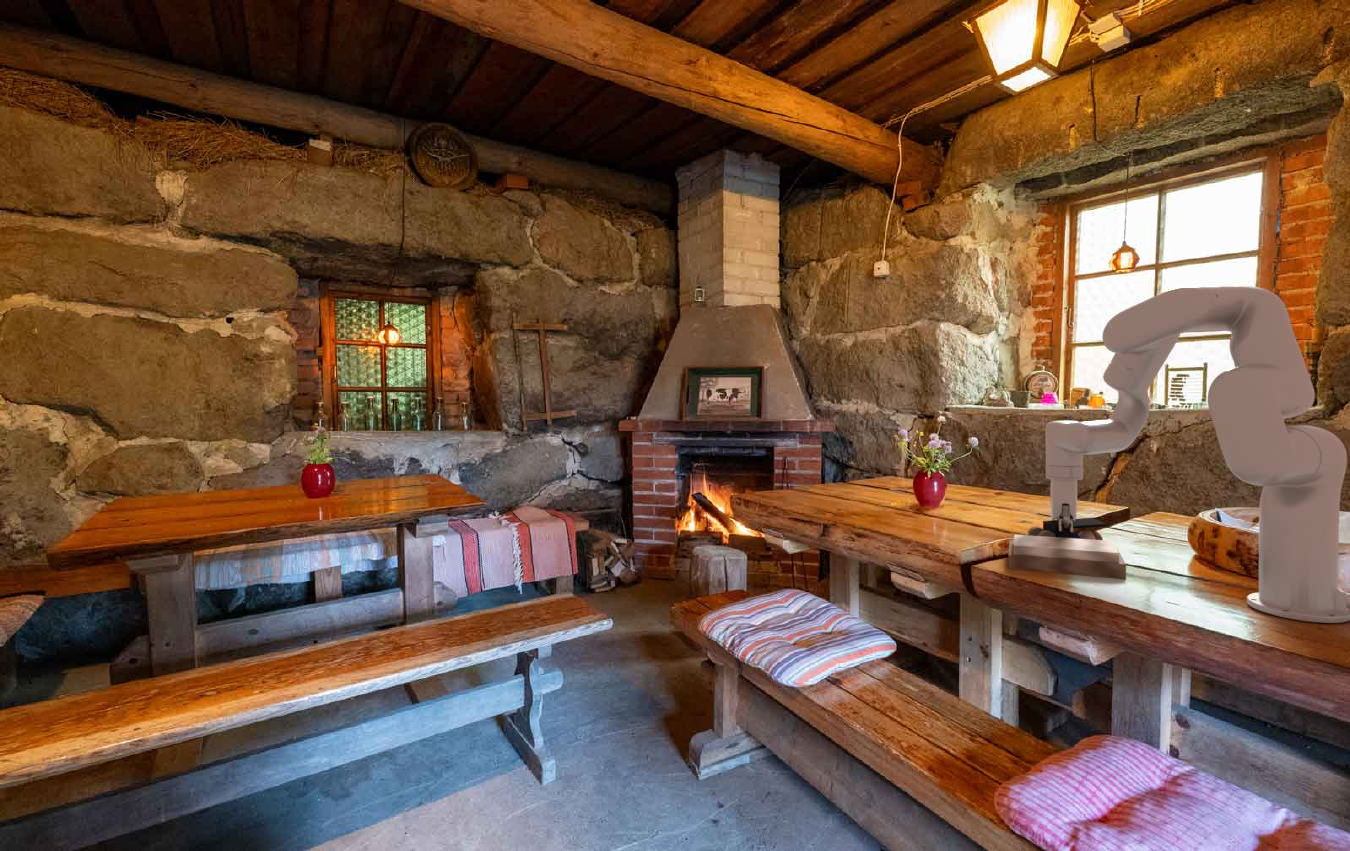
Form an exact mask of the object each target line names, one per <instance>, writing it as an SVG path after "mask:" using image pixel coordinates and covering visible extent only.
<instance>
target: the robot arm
mask: <svg viewBox="0 0 1350 851" xmlns="http://www.w3.org/2000/svg"><path fill="white" fill-rule="evenodd" d="M1209 332H1210V333H1212V332H1213V333H1214V332H1230V334H1231V335H1230V338H1229V353H1230V356H1231V360H1232V361H1233V364H1234V367H1232V368H1228V369H1226V370H1224V371H1223V372H1221V373H1220V374H1218V375H1217V376H1216V377H1215V378H1214V379H1213V380H1212V382H1211V383H1210V386H1209V389H1208V394H1207V406H1208V410H1209V414H1210V417H1211V421H1212V424H1213V427H1214V430H1215V433H1216V438H1217V440H1218V442H1219V447H1220V450H1221V452H1222V456H1223V459H1224V461H1225V463H1226V465H1227V468H1229V469H1228V470H1230V471H1231V473H1232V474H1233V475H1234V476H1235V477H1236V478H1238V479H1239V480H1240V481H1242V482H1244V483H1246V484H1249V485H1253V486H1256V487H1262V491H1261V494H1260V499H1259V507H1258V508H1259V514H1258V515H1259V516H1258V592H1252V593H1250V594H1249V595H1247V596H1246V603H1247V604H1248V606H1250V607H1251V608H1253V609H1255V610H1257V611H1259V612H1263V613H1266V614H1268V615H1269V614H1270V615H1272V616H1276V617H1281V618H1285V619H1290V620H1295V621H1302V622H1310V623H1319V624H1320V623H1322V624H1341V623H1345V622H1349V621H1350V592H1347V591H1345V590H1344V589H1342V588H1340V587H1339V540H1340V539H1339V536H1340V535H1339V531H1340V506H1341V504H1340V503H1341V502H1340V501H1341V495H1342V494H1341V493H1342V488H1343V482H1344V478H1345V474H1346V470H1347V466H1348V455H1347V450H1346V448H1345V446H1344V443H1343V442H1342V440H1341V439H1340V438H1339V437H1338V436H1336V435H1335V434H1334V433H1333V432H1331V431H1329V430H1327V429H1325V428H1322V427H1319V426H1314V425H1304V424H1303V425H1302V424H1300V425H1299V424H1298V425H1295V424H1294V425H1287V426H1286V424H1285V419H1290V418H1293V417H1298V416H1301V415H1302V414H1304V413H1306V412H1308V410H1309V409H1310V408H1312V406H1313V404H1314V402H1315V395H1316V392H1315V389H1314V385H1313V382H1312V380H1311V377H1310V375H1309V371H1308V368H1307V365H1306V363H1305V360H1304V357H1303V354H1302V350H1301V349H1300V346H1299V344H1298V341H1297V339H1296V335H1295V332H1294V329H1293V326H1292V323H1291V319H1290V316H1289V312H1288V310H1287V307H1286V305H1285V303H1284V302H1283V300H1282V299H1281V298H1280V296H1278V295H1277V294H1275V293H1274V292H1273V291H1270V290H1269V289H1265V288H1262V287H1259V286H1258V287H1257V286H1252V285H1250V286H1249V285H1221V284H1220V285H1219V284H1218V285H1214V284H1213V285H1182V286H1178V287H1173V288H1170V289H1168V290H1165V291H1163V292H1161V293H1159V294H1156V295H1154V296H1152V297H1150V298H1148V299H1146V300H1144V301H1142V302H1139V303H1137V304H1134V305H1132V306H1131V307H1128V308H1126V309H1125V310H1122V311H1119V313H1117V314H1116V315H1115V314H1114V316H1112V317H1111V319H1110V320H1109V321H1107V322H1106V325H1105V326H1104V328H1103V330H1102V334H1101V335H1102V342H1103V345H1104V347H1105V348H1106V349H1107V350H1108V351H1109V352H1112V353H1114V354H1113V357H1112V358H1111V361H1110V362H1109V364H1108V366H1107V368H1106V369H1105V371H1104V373H1103V376H1102V379H1103V381H1104V383H1105V384H1106V385H1108V386H1109V387H1110V388H1111V389H1113V390H1115V391H1116V392H1117V394H1118V399H1117V402H1116V405H1115V408H1114V409H1113V411H1112V412H1111V414H1110V416H1109V417H1108V419H1100V420H1099V419H1097V420H1088V421H1087V420H1086V421H1077V420H1053V421H1049V422H1047V423H1046V425H1045V433H1044V434H1045V478H1046V479H1048V480H1050V486H1049V487H1050V489H1049V490H1050V496H1049V497H1050V498H1049V499H1050V518H1051V520H1053V521H1055V520H1059V530H1058V537H1060V538H1074V535H1075V532H1074V529H1073V522H1074V521H1076V519H1077V512H1078V511H1077V510H1078V509H1077V508H1078V481H1081V480H1084V455H1085V456H1086V455H1088V456H1090V455H1099V454H1107V453H1118V452H1122V451H1124V450H1125V449H1127V448H1129V446H1131V445H1132V444H1133V442H1134V441H1135V440H1136V439H1137V437H1138V435H1139V434H1140V433H1141V430H1142V429H1143V428H1144V426H1145V424H1146V422H1147V420H1148V418H1149V414H1150V413H1149V412H1150V397H1149V394H1148V393H1149V389H1150V388H1151V386H1152V384H1153V382H1154V380H1156V377H1157V375H1159V374H1158V373H1159V372H1160V371H1161V369H1162V367H1163V365H1164V363H1165V362H1166V361H1167V359H1168V357H1169V355H1170V354H1171V352H1172V351H1173V349H1174V347H1175V346H1176V344H1177V342H1178V341H1179V339H1180V335H1181V334H1184V333H1187V334H1188V333H1209Z"/></svg>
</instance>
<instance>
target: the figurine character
mask: <svg viewBox="0 0 1350 851" xmlns="http://www.w3.org/2000/svg"><path fill="white" fill-rule="evenodd" d="M1100 527H1101V528H1103V527H1107V523H1105V522H1103V521H1101V520H1098V519H1095V518H1093V517H1084V518H1076V521H1074V522H1073V530H1074V529H1083V530H1082V531H1080V532H1079V534H1074V538H1075V539H1091V540H1103V536H1102V534H1101V533H1099V531H1097V530H1094V529H1091V528H1100ZM1088 528H1089V529H1088ZM1058 530H1059V520H1057V519H1055V521H1053V520H1052V519H1051V520H1043V521H1042V527H1040V526H1032V527H1030V528H1029V529H1028V531H1027V535H1029V536H1045V537H1058Z"/></svg>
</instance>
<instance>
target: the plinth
mask: <svg viewBox="0 0 1350 851" xmlns="http://www.w3.org/2000/svg"><path fill="white" fill-rule="evenodd" d="M1008 569H1012V570H1022V571H1031V572H1032V571H1035V572H1043V573H1044V572H1046V573H1055V574H1064V575H1065V574H1067V575H1079V576H1089V577H1100V578H1101V577H1102V578H1112V579H1123V580H1126V579H1127V563H1126V562H1125V559H1124V558H1123V556H1122V555H1121V552H1120V551H1119V549H1117V546H1116V545H1115V543H1114V541H1113V540H1106V539H1105V540H1091V539H1075V538H1060V537H1045V536H1029V535H1028V534H1014V535H1013V541H1009V546H1008Z"/></svg>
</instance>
